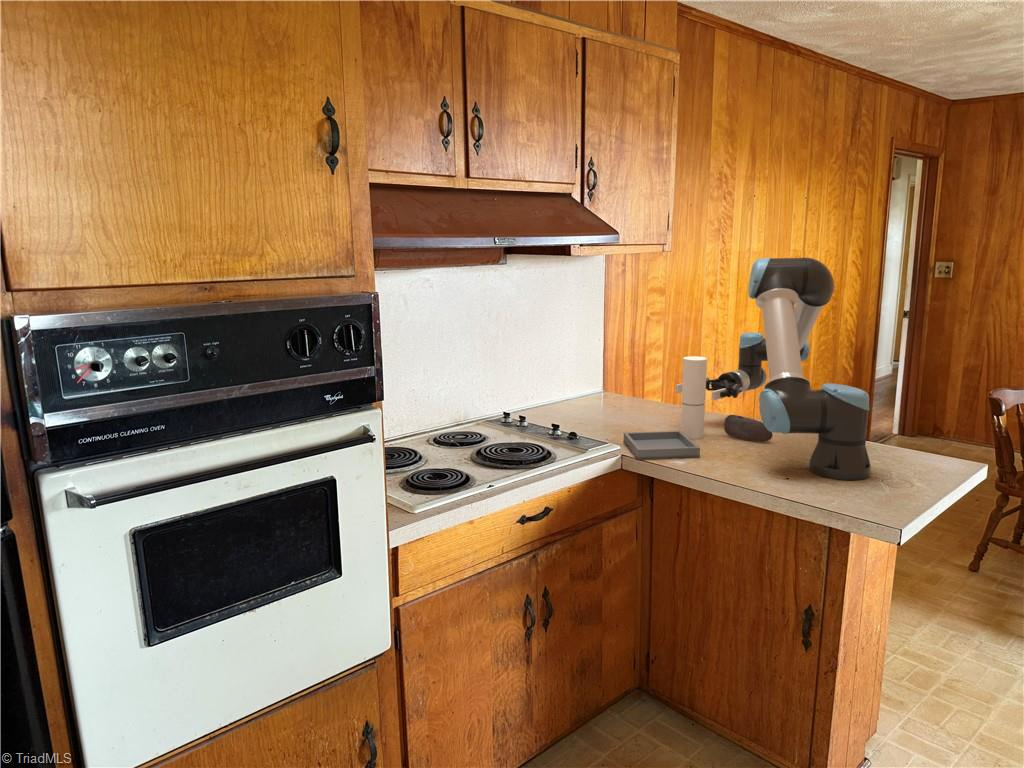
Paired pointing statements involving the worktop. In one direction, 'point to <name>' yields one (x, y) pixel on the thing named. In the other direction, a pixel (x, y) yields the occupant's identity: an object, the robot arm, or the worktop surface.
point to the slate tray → (661, 445)
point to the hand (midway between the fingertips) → (694, 392)
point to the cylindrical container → (693, 396)
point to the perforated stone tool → (746, 428)
